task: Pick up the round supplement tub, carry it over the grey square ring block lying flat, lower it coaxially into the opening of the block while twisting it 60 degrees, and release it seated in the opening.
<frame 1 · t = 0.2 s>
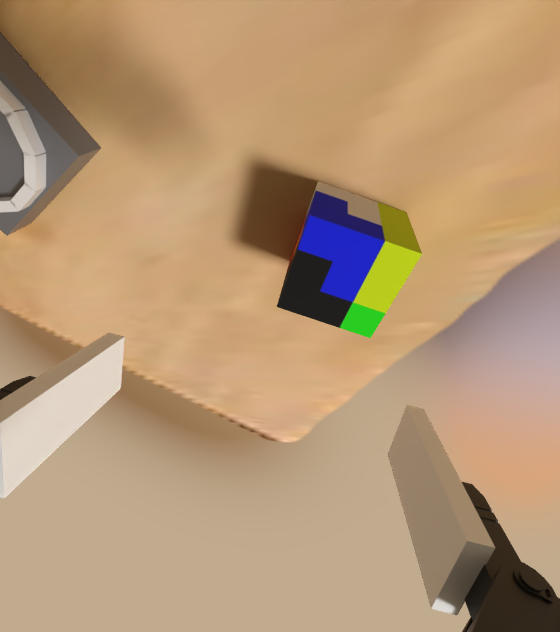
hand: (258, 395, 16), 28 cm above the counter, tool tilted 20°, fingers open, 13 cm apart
puzzle toy: (344, 237, 40), on the counter
grey square ring block: (6, 131, 39), on the counter
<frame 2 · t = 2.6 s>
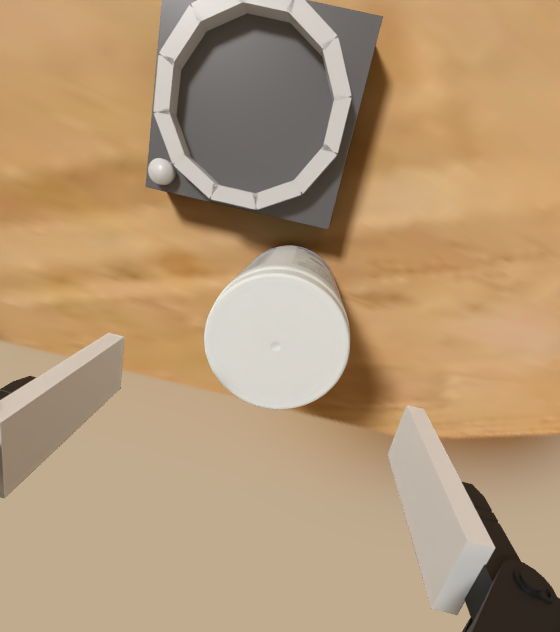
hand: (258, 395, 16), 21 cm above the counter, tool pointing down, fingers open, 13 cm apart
grey square ring block: (260, 121, 31), on the counter
supplement tub: (290, 290, 36), on the counter
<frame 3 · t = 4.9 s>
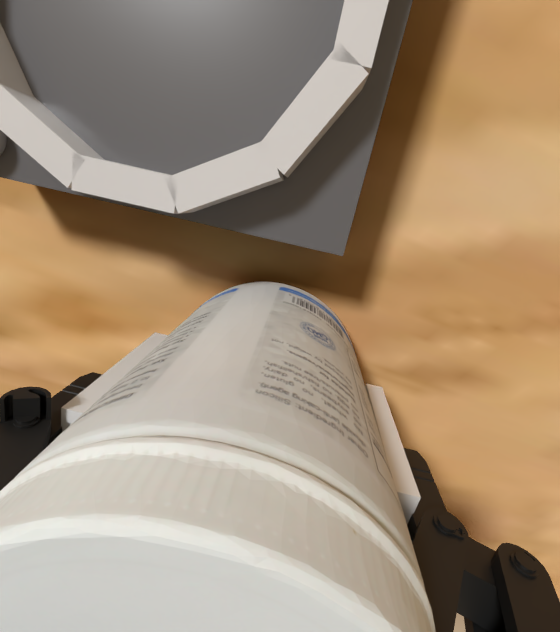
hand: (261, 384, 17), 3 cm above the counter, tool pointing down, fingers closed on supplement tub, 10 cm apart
grey square ring block: (200, 29, 15), on the counter
supplement tub: (269, 359, 20), on the counter, touching gripper
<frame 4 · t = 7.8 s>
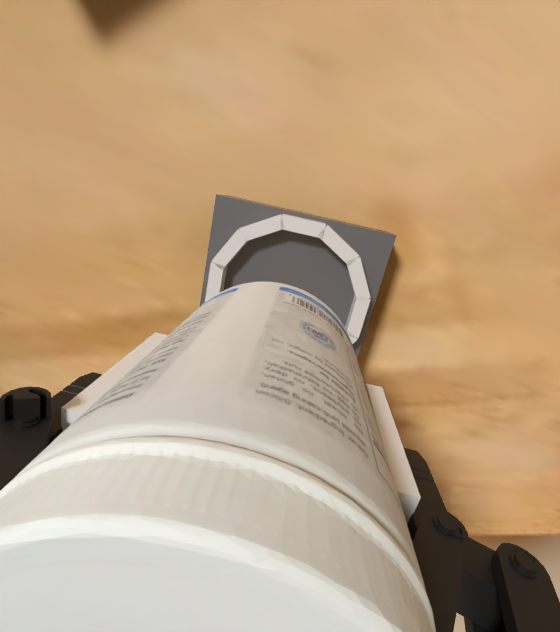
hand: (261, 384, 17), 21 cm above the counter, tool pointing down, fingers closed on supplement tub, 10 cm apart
grey square ring block: (289, 286, 37), on the counter
supplement tub: (269, 359, 20), point 18 cm above the counter, touching gripper
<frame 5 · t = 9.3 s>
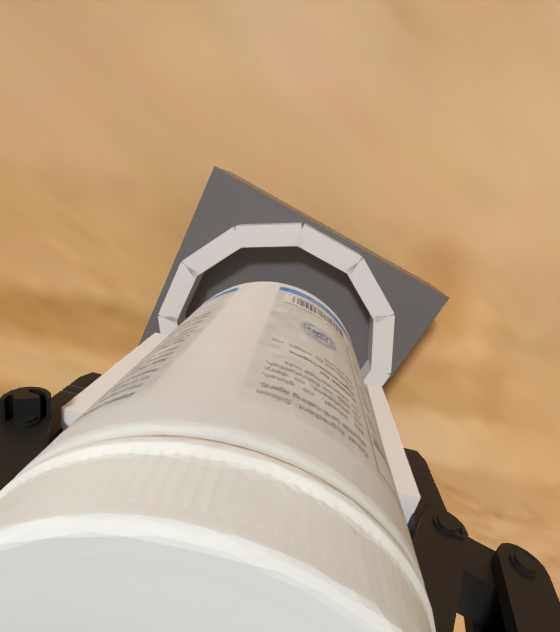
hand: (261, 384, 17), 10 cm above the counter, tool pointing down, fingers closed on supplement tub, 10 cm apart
grey square ring block: (281, 317, 27), on the counter
supplement tub: (269, 359, 20), point 8 cm above the counter, touching gripper
when the fingers open (7 cm above the counter, at t = 10.7 s): supplement tub stays where it is, resting on grey square ring block.
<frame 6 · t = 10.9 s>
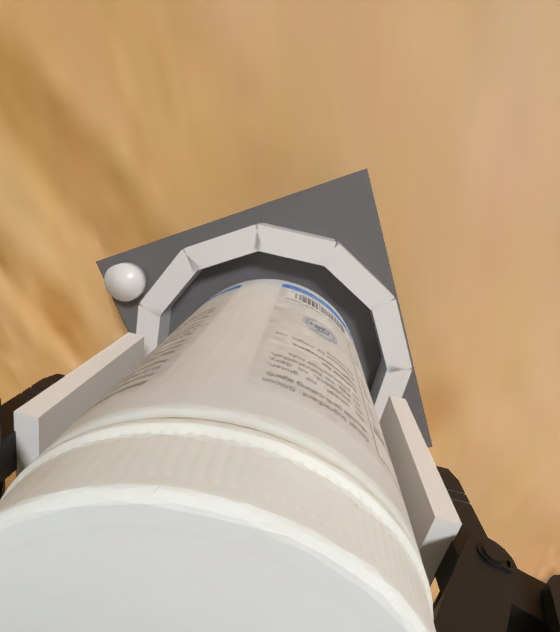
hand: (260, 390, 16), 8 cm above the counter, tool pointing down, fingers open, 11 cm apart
grey square ring block: (277, 332, 24), on the counter
supplement tub: (272, 355, 20), point 4 cm above the counter, touching grey square ring block
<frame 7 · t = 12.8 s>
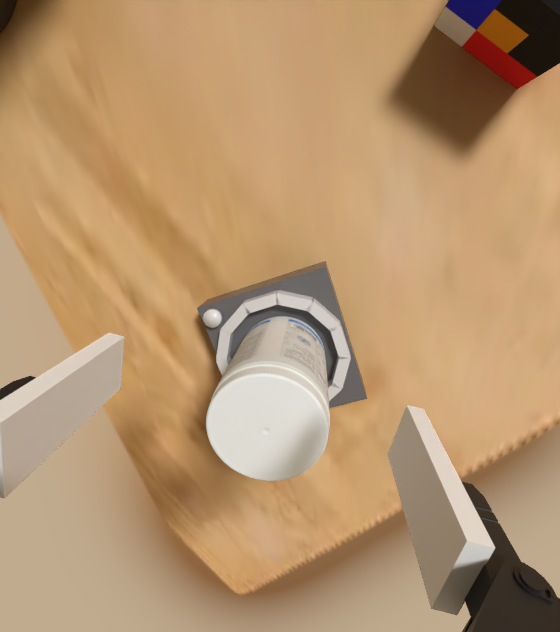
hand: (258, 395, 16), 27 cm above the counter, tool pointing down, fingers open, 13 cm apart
puzzle toy: (513, 3, 32), on the counter
grey square ring block: (286, 341, 44), on the counter
supplement tub: (284, 352, 40), point 4 cm above the counter, touching grey square ring block
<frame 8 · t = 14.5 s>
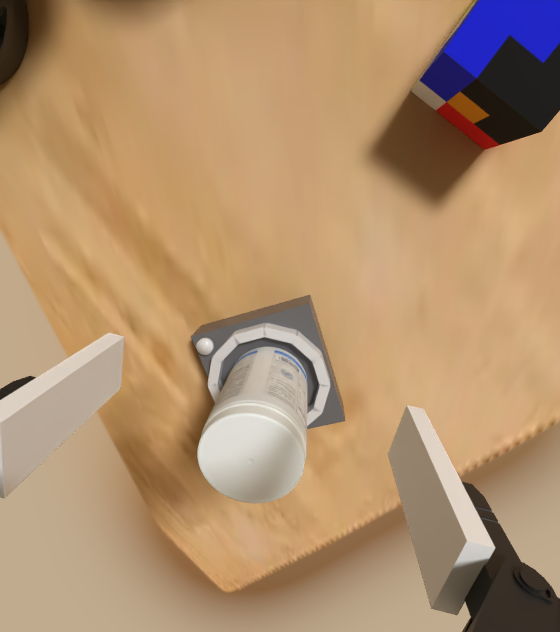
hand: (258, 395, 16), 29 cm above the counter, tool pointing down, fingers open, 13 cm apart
puzzle toy: (482, 74, 35), on the counter
grey square ring block: (273, 365, 47), on the counter
supplement tub: (270, 378, 44), point 4 cm above the counter, touching grey square ring block
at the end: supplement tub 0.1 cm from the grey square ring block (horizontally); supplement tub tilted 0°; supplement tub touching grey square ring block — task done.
